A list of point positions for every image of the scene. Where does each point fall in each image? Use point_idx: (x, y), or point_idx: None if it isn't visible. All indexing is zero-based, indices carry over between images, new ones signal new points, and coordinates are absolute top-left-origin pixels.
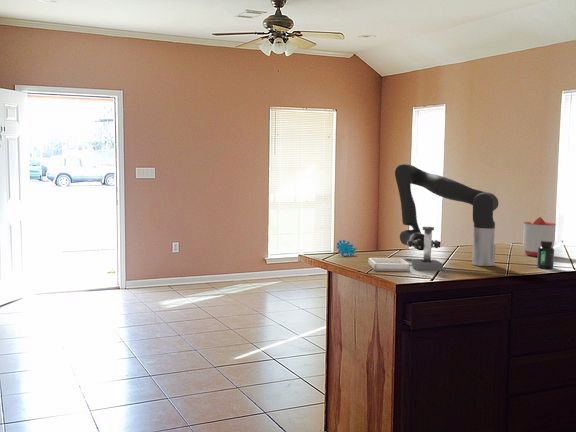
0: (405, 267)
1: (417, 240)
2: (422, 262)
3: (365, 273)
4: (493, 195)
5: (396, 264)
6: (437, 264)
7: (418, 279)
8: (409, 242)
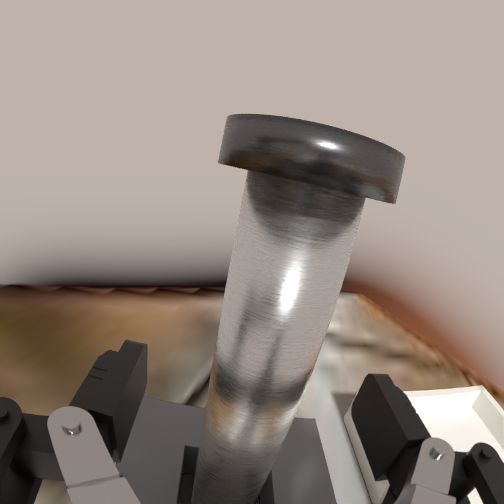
0: None
1: (419, 485)
2: None
3: (466, 371)
4: None
5: (414, 392)
6: (176, 407)
7: None
8: (481, 456)
